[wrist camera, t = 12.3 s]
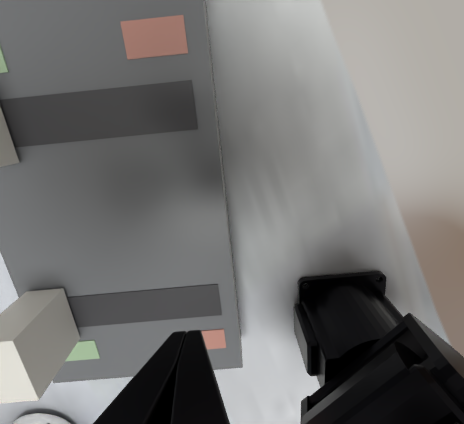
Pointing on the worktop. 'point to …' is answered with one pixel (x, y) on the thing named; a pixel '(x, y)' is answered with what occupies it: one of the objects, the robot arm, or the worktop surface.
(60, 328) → the off-white block
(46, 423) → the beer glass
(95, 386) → the worktop surface
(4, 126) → the off-white switch lever
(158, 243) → the switch panel
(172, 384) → the robot arm
